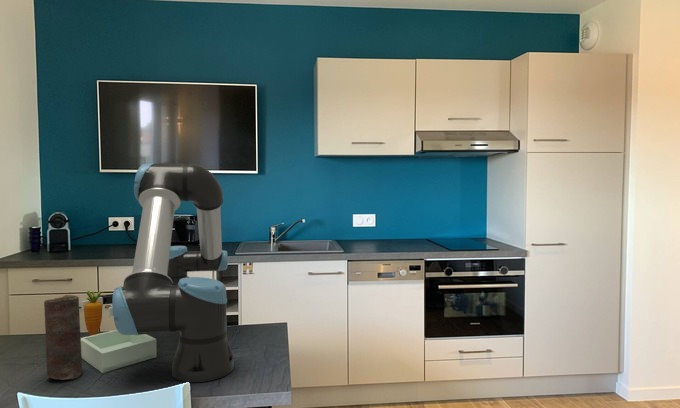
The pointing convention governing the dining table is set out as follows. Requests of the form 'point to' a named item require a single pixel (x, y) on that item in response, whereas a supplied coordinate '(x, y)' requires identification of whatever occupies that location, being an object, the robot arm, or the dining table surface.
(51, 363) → the candle
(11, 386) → the dining table surface
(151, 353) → the bin
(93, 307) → the carrot
